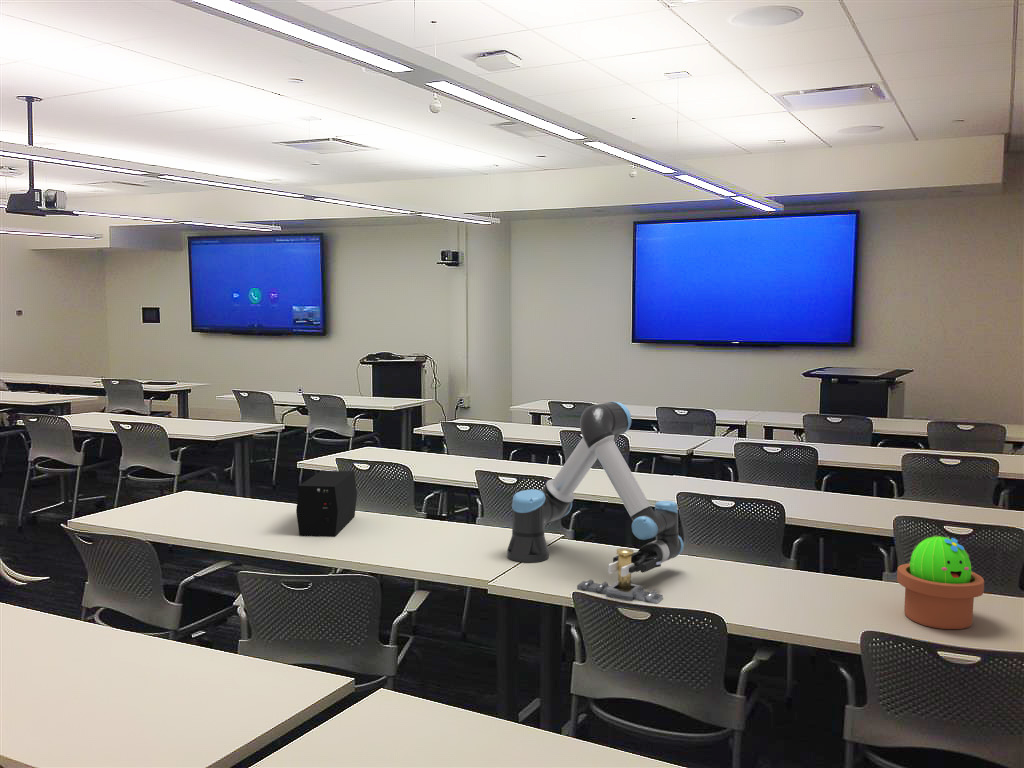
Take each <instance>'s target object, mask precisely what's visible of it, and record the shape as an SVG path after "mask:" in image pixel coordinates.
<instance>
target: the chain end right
mask: <svg viewBox="0 0 1024 768" xmlns="http://www.w3.org/2000/svg"><path fill="white" fill-rule="evenodd" d="M609 586H610V587H608V588H607V589H606V593H612V594H617V595H623V596H629V597H633V596H634V600H637V601H641V602H646V603H652V604H659V603H660V602H661V601H662V600H663V599H664V595H663V594H660V593H658V592H657V591H656V590H651V591H650V592H648V591H645V587H643V585H640V584H635V583H631V590H630V591H626V590H620V589H617V588H618V580H617V581H615V582H613V583H612V584H611V585H609Z"/></svg>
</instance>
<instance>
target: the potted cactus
mask: <svg viewBox="0 0 1024 768" xmlns="http://www.w3.org/2000/svg"><path fill="white" fill-rule="evenodd" d="M958 542H959V541H958V540H957V539H956V538H954V537H951V538H950V537H949V536H941V535H936V534H935V535H933V536H930V537H926V538H925V539H923V540H922V541H920V542H917V543H916V546H914V549H913V551H912V552H911V556H910V557H909V556H908V557H909V558H910V561H909V562H908V563H904V564H901V565H898V567H897V570H896V571H897V574H896V581H897V583H898V584H899V585H900V586H901V587H903V588H904V591H905V592H904V604H903V605H904V607H903V608H904V609H903V610H904V611H903V612H904V615H905V616H906V617H907V619H909V620H911V621H913V622H915V623H917V624H920V625H922V626H925V627H929V628H935V629H941V630H963V629H967V628H969V627H971V626H972V624H973V617H974V616H973V615H974V602H975V601H974V600H975V598H979V597H981V596H983V595H984V592H985V580H984V579H985V578H983V577H982V576H981V575H980V574H977V573H976V572H974V571H972V569H973V566H972V564H971V563H972V561H971V560H970V554H969V553H970V552H969V553H967V551H966V550H965V547H964V546H963V545H961V544H959V543H958Z"/></svg>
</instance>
